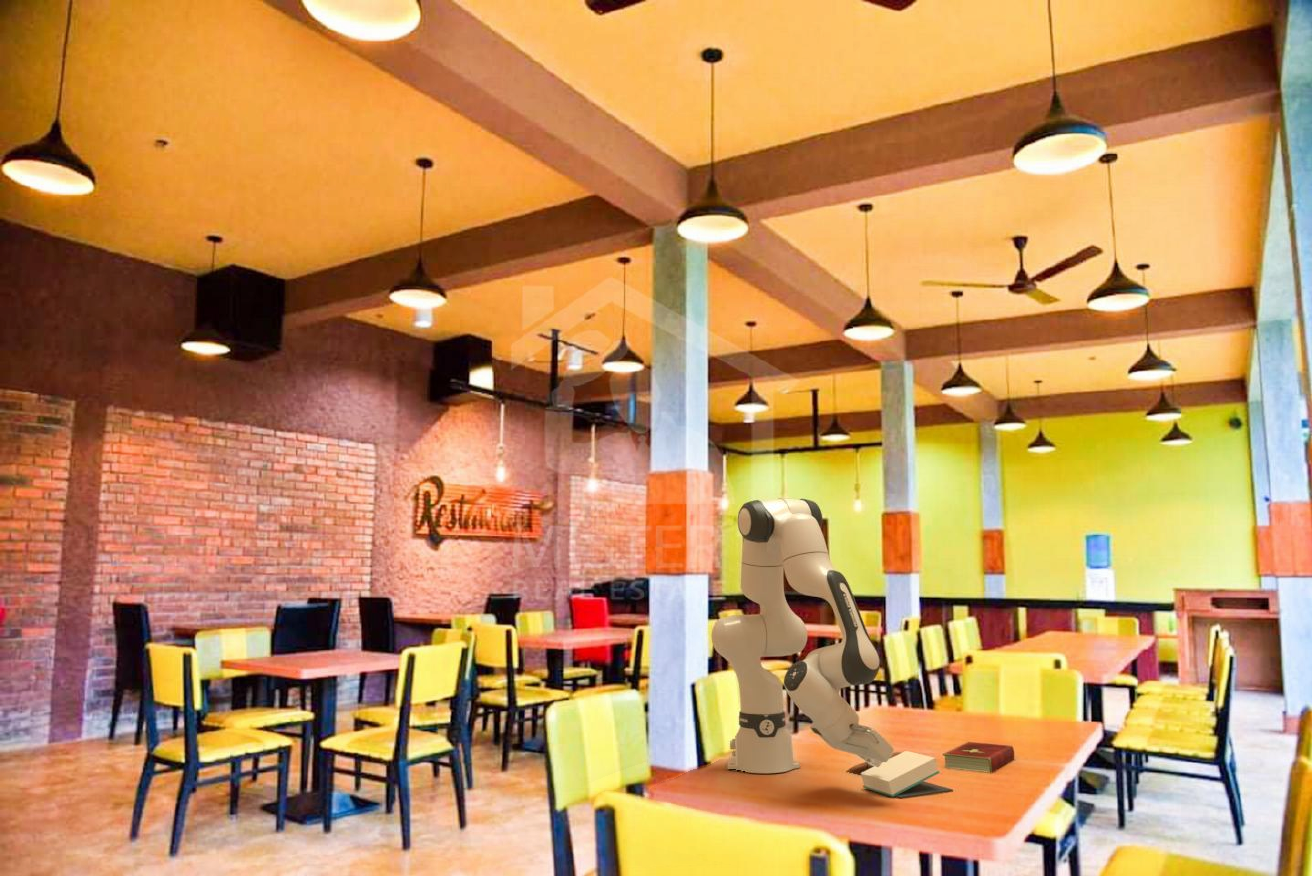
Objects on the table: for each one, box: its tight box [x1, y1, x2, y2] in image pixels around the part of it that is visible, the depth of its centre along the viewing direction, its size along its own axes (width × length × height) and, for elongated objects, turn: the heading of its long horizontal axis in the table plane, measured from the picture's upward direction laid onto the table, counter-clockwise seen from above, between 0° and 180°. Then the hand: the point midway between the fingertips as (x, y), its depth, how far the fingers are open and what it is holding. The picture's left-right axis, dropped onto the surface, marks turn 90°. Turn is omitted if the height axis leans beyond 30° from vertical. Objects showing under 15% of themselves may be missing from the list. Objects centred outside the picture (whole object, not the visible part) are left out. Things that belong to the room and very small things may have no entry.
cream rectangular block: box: [860, 750, 940, 798], centre depth 207 cm, size 4×10×14 cm
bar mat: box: [863, 781, 954, 800], centre depth 207 cm, size 15×13×1 cm
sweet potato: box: [845, 751, 904, 776], centre depth 229 cm, size 18×7×7 cm, turn 128°
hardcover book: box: [942, 741, 1015, 774], centre depth 235 cm, size 12×21×4 cm, turn 144°
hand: (876, 764), depth 205 cm, fingers closed
